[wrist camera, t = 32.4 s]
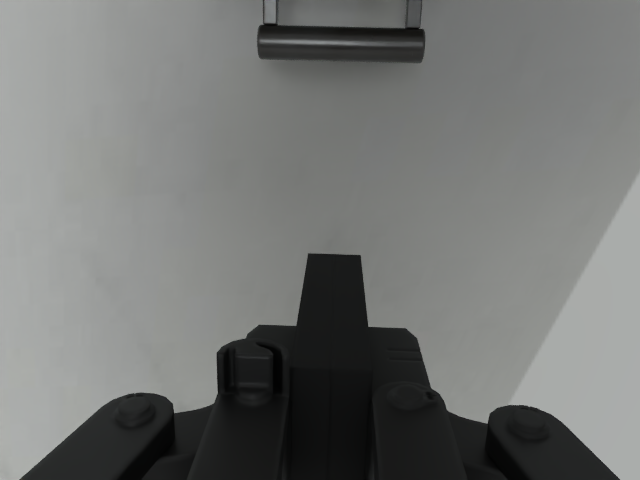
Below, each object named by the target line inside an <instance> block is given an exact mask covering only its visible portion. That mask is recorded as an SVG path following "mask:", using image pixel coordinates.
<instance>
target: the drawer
mask: <svg viewBox="0 0 640 480" xmlns="http://www.w3.org/2000/svg"><path fill="white" fill-rule="evenodd" d="M278 2H279V0H263V24H265V25H260V26H259V28H258V35H257V47H258V55H259V58H260V59H270V60H309V61H349V62H388V63H421V62H422V60H423V57H424V50H425V31H424V29H418V28H420V24H421V10H422V0H406V15H405V28H371V27H330V26H288V25H278Z"/></svg>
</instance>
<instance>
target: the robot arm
mask: <svg viewBox="0 0 640 480" xmlns="http://www.w3.org/2000/svg"><path fill="white" fill-rule="evenodd" d="M217 380H218V394H217V397H216V400H215V403H214V404H212V405H210V406H207V407H204V408H201V409H197V410H193V411H187V412H180V413H174V409H173V403H171V402H170V401H169V400H168V399H167V398H166V397H163V396H160V395H157V394H152V393H136V394H134V393H133V394H128V395H125V396H122V397H119V398H117V399H114V400H112V401H110V402H109V403H107V404H106V405H104V406H103V407H101V408H100V409H99V410H98V411H97V412H96V413H94V414H93V415H92V416H91V417H90V418H89V419H88V420H87V421H85V422H84V423H83V424H82V425H81V426H80V427H79V428H77V429H76V430H75V431H74V432H73V433H72V434H71V435H70V436H68V437H67V438H66V439H65V440H64V441H63V442H62V443H61V444H59V445H58V446H57V447H56V448H55V449H54V450H53V451H51V452H50V453H49V454H48V455H47V456H46V457H45V458H44V459H42V460H41V461H40V462H39V463H38V464H37V465H36V466H34V467H33V468H32V469H31V470H30V471H29V472H28V473H27V474H25V475H24V476H23V477H22V478H21V479H20V480H620V479H619V478H618V477H617V476H616V475H615V474H614V473H613V472H612V471H611V470H610V469H609V468H608V467H607V466H606V465H605V464H604V463H603V462H602V461H601V460H600V459H599V458H598V457H596V455H595V454H594V453H592V451H591V450H589V448H588V447H586V446H585V445H584V444H583V443H582V442H581V441H580V440H579V439H578V438H577V437H576V436H575V435H574V434H573V433H572V432H571V431H570V430H569V429H568V428H567V427H566V426H565V425H564V424H563V423H562V422H561V421H559V420H558V419H557V418H555V417H554V416H552V415H551V414H549V413H546V412H544V411H541V410H539V409H537V408H534V407H528V406H524V405H519V406H518V405H517V406H516V405H508V406H504V407H500V408H497V409H495V410H494V411H493V412H492V413H490V416H489V420H488V424H486V423H482V422H477V421H473V420H469V419H466V418H463V417H459V416H457V415H455V414H453V413H450V412H449V411H447V409H446V406H445V403H444V400H443V399H442V397H441V396H440V394H439V393H437V392H436V391H434V390H433V389H431V387H430V383H429V380H428V376H427V372H426V369H425V365H424V362H423V358H422V354H421V352H420V347H419V344H418V340H417V338H416V337H415V336H414V335H413V334H411V333H410V332H409V331H408V330H407V329H406V328H380V327H368V320H367V311H366V302H365V292H364V283H363V274H362V265H361V255H339V254H309V253H308V258H307V265H306V271H305V277H304V283H303V289H302V295H301V301H300V308H299V314H298V320H297V326H281V325H258V326H257V327H256V328H255V329H253V330H252V331H251V332H249V333H248V334H247V337H246V339H241V340H237V341H233V342H230V343H228V344H226V345H224V346H222V347H221V349H220V350H219V351H218V352H217Z"/></svg>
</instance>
